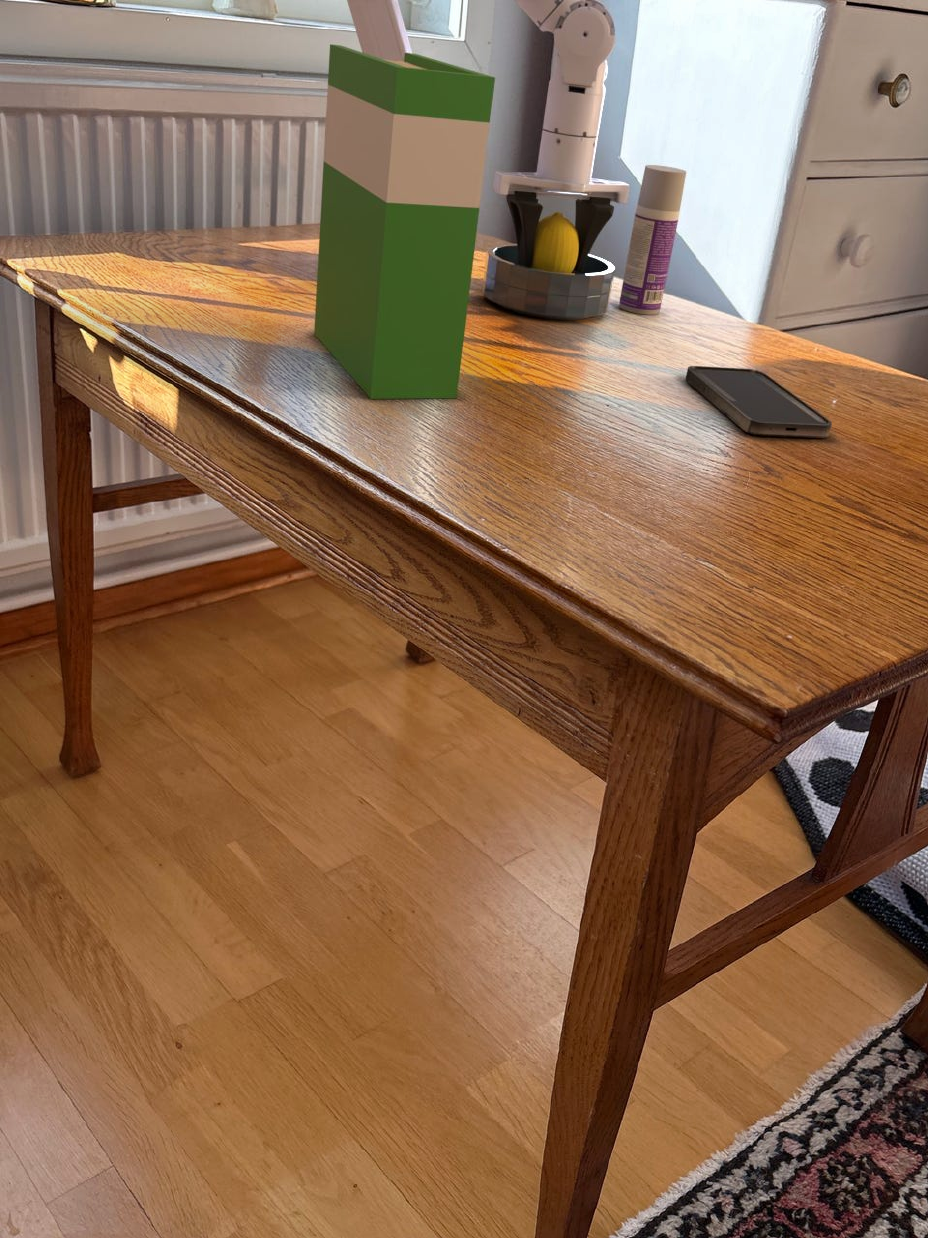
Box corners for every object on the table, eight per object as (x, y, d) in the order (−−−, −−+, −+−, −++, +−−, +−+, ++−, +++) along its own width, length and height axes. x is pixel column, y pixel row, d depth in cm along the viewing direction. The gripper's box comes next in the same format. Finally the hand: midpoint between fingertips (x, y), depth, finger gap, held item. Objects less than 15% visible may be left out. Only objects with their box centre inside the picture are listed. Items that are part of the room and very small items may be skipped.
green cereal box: (314, 333, 104) (330, 43, 93) (390, 334, 107) (415, 53, 95) (370, 398, 90) (397, 67, 79) (456, 397, 93) (495, 77, 81)
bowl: (469, 307, 119) (475, 259, 117) (495, 282, 131) (501, 237, 129) (598, 330, 117) (606, 282, 115) (613, 302, 129) (621, 257, 127)
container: (658, 306, 130) (686, 168, 123) (660, 316, 126) (689, 174, 119) (618, 301, 130) (643, 162, 123) (619, 310, 126) (645, 168, 119)
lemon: (557, 297, 120) (569, 219, 116) (512, 285, 122) (523, 208, 119) (580, 290, 124) (593, 214, 120) (537, 279, 127) (548, 204, 123)
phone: (759, 369, 107) (837, 425, 94) (756, 380, 108) (833, 438, 95) (682, 365, 105) (751, 421, 92) (680, 376, 106) (748, 434, 93)
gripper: (516, 132, 110) (498, 273, 117) (650, 144, 115) (625, 280, 121) (494, 122, 116) (478, 257, 123) (622, 134, 120) (600, 264, 127)
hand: (549, 267), depth 122 cm, fingers closed on lemon, 5 cm apart
